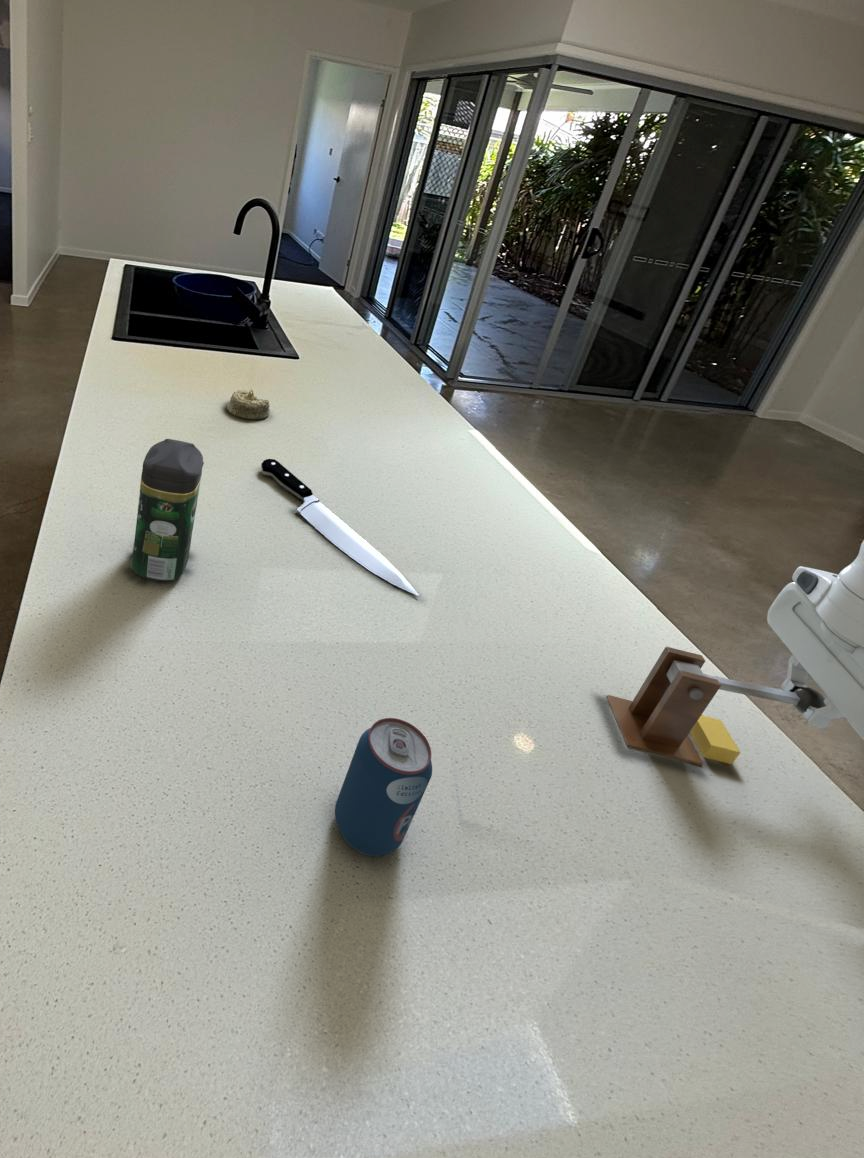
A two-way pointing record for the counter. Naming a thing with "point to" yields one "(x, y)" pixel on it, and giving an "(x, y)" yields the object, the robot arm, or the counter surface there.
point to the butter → (714, 740)
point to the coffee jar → (166, 510)
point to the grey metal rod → (757, 688)
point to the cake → (248, 405)
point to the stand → (666, 708)
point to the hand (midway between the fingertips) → (801, 707)
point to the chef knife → (335, 527)
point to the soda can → (383, 786)
